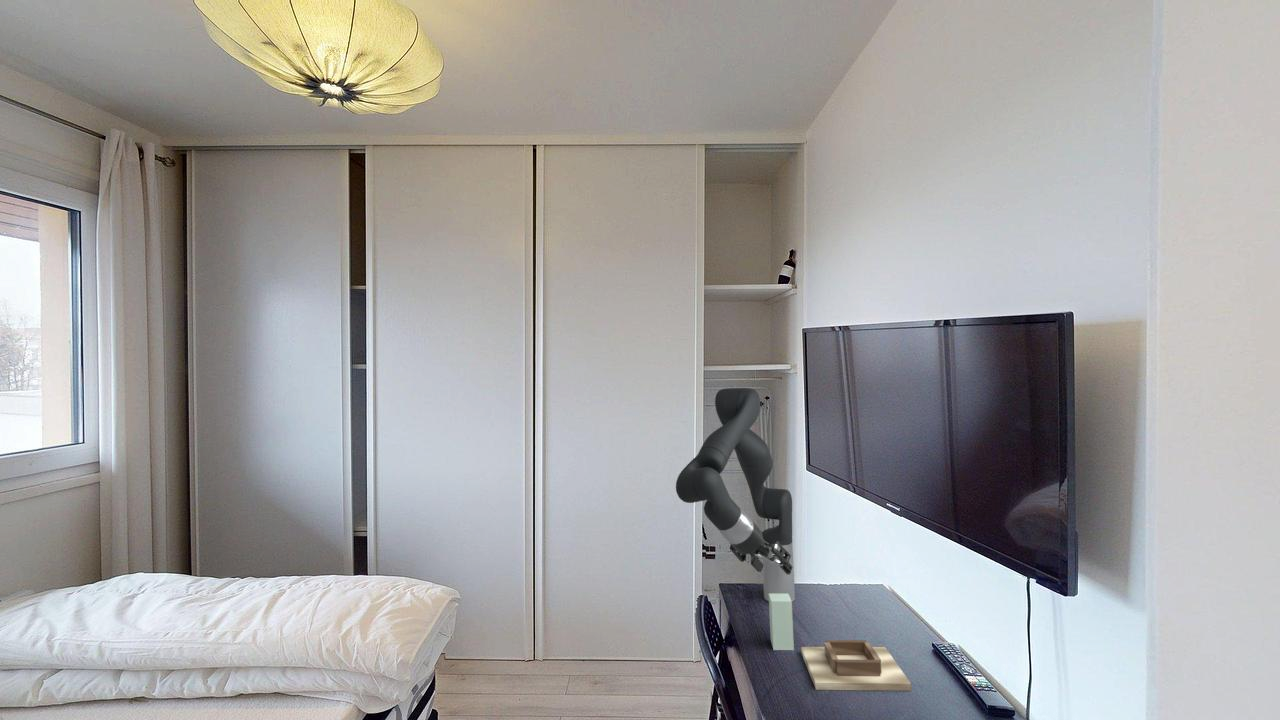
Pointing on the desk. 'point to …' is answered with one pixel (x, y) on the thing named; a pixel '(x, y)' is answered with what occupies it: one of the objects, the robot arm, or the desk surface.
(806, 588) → the desk surface
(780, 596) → the pillar
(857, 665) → the socket board
